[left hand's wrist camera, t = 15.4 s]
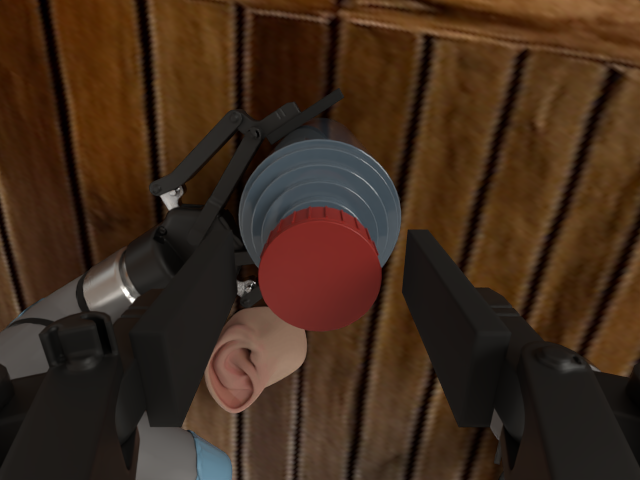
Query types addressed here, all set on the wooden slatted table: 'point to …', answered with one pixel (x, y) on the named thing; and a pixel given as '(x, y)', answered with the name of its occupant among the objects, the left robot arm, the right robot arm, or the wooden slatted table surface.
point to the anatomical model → (252, 357)
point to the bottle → (320, 186)
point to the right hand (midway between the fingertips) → (369, 144)
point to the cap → (319, 269)
